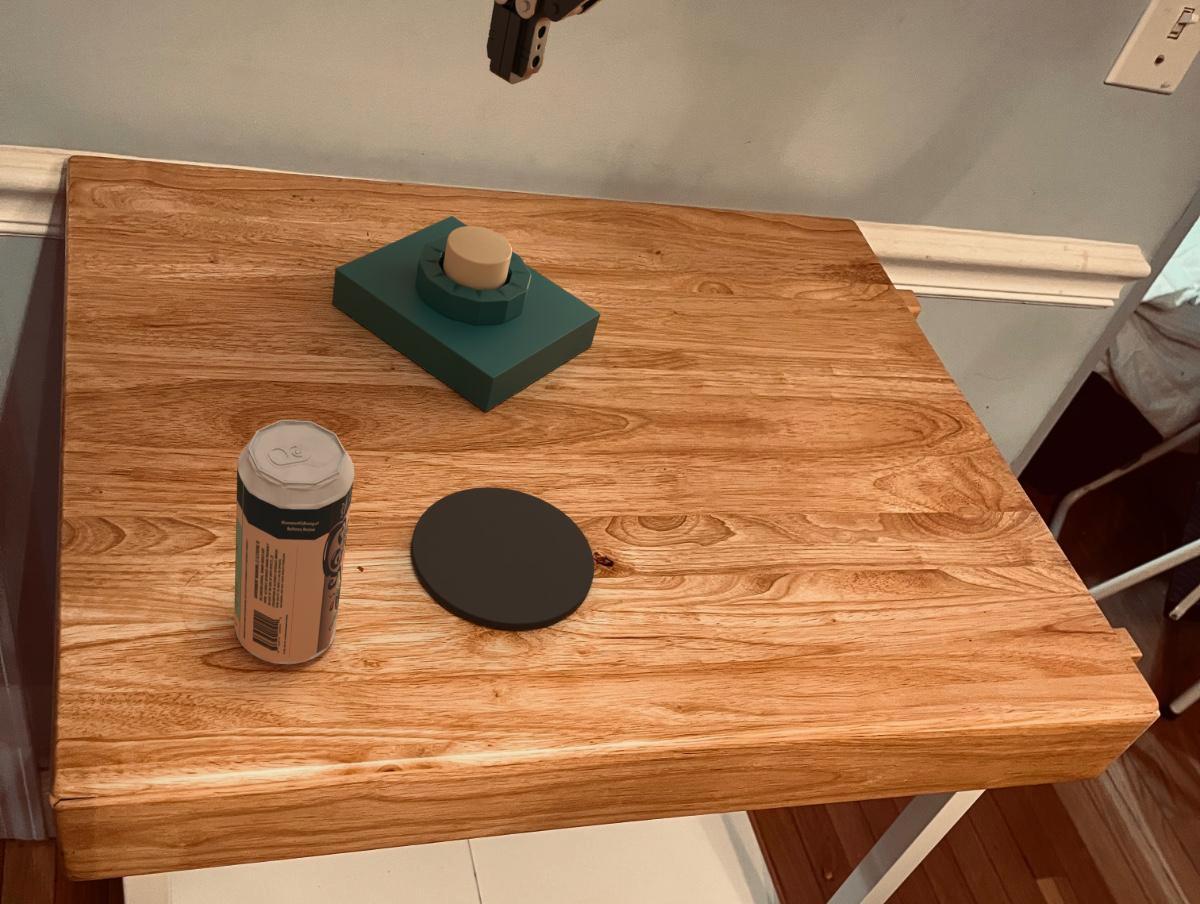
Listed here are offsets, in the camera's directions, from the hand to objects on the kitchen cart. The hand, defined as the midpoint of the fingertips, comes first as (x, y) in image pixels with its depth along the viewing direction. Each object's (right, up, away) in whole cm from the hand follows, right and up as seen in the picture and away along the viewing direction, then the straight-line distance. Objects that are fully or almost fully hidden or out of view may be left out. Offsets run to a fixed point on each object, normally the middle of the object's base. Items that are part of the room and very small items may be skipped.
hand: (511, 75), depth 65 cm
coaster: (0, -27, 0) cm, 27 cm away
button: (-3, -8, +9) cm, 13 cm away
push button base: (-4, -11, +12) cm, 17 cm away
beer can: (-11, -30, -7) cm, 33 cm away
